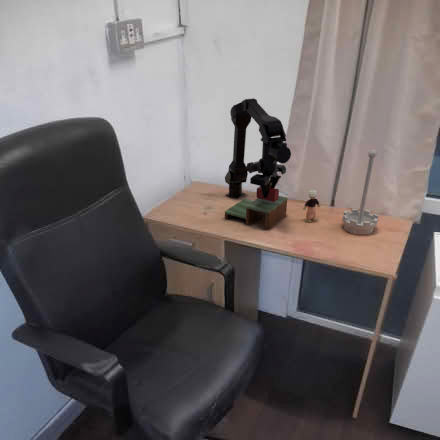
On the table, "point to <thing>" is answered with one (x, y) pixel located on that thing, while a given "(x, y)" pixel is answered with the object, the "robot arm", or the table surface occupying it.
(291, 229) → the table surface
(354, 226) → the flag stand
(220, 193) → the table surface
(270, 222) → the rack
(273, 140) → the robot arm
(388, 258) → the table surface
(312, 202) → the grandmother figurine
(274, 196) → the red rectangular block
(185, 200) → the table surface
